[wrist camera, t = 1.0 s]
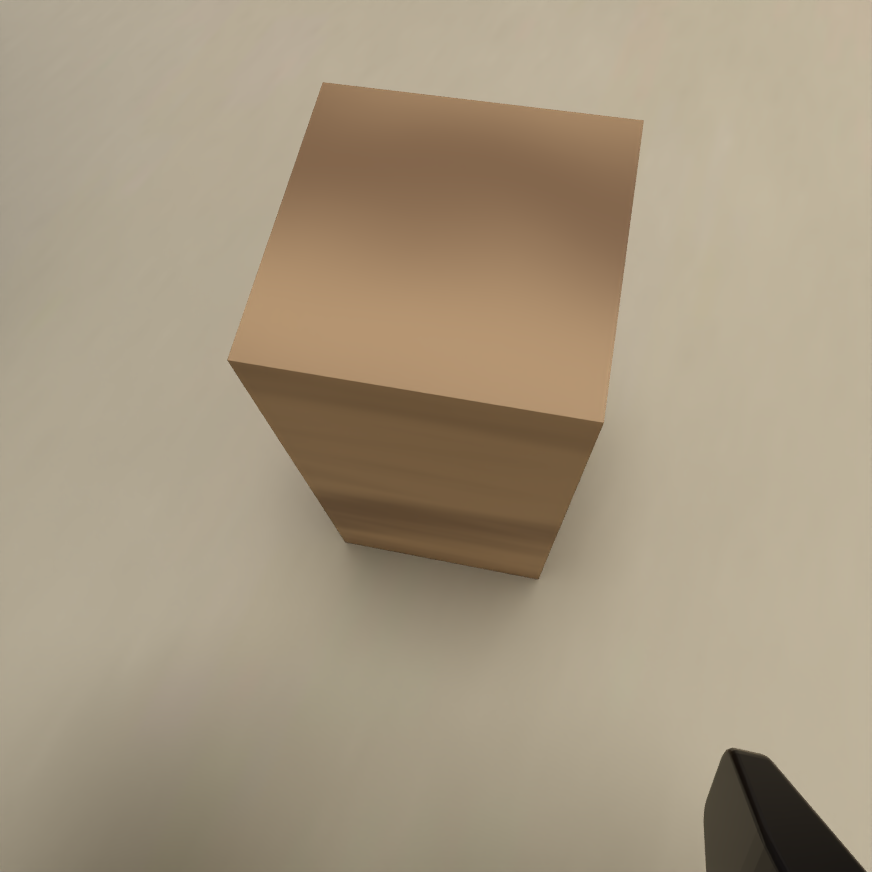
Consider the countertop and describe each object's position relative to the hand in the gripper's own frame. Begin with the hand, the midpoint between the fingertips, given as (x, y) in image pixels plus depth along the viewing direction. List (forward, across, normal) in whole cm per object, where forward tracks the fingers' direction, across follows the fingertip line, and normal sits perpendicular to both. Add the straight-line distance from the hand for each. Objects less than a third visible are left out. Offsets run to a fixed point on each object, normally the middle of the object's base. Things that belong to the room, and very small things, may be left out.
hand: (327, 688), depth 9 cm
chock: (+15, 0, +4) cm, 15 cm away
